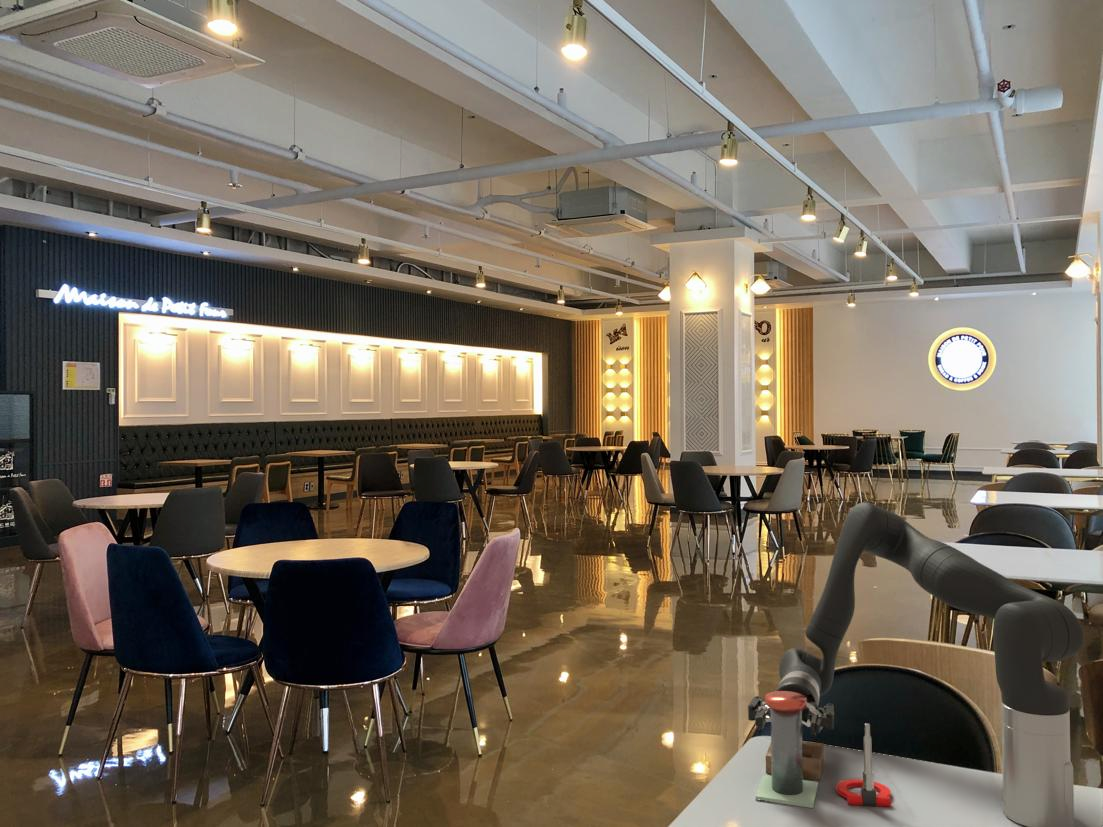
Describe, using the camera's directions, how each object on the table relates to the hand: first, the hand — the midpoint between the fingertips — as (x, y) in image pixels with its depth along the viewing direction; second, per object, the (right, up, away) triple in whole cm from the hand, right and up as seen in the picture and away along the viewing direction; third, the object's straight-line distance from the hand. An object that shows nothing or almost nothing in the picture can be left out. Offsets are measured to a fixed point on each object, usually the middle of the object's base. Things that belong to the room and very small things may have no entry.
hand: (786, 726), depth 149 cm
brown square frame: (+4, -11, +10) cm, 15 cm away
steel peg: (0, -10, 0) cm, 10 cm away
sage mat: (0, -11, 0) cm, 11 cm away
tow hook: (+12, -11, -2) cm, 17 cm away
